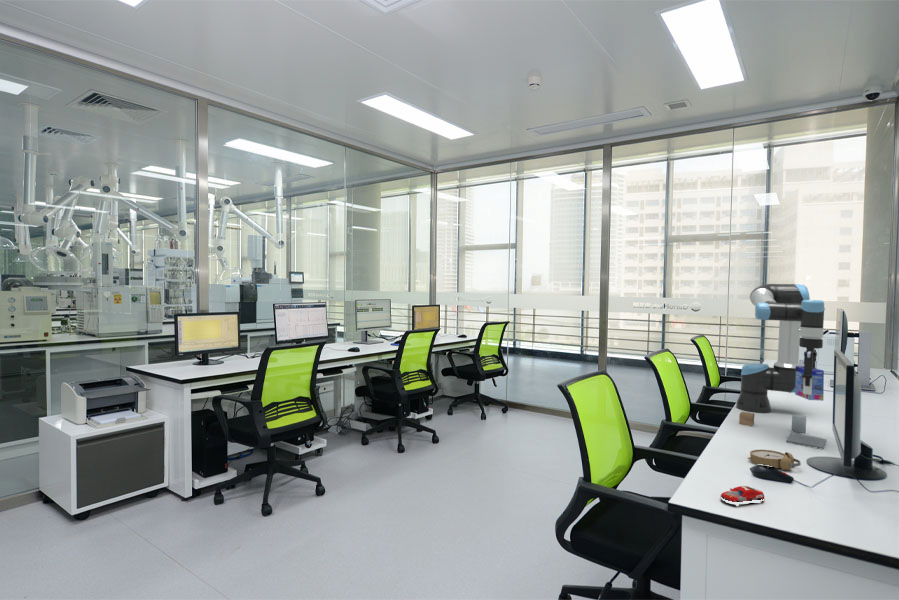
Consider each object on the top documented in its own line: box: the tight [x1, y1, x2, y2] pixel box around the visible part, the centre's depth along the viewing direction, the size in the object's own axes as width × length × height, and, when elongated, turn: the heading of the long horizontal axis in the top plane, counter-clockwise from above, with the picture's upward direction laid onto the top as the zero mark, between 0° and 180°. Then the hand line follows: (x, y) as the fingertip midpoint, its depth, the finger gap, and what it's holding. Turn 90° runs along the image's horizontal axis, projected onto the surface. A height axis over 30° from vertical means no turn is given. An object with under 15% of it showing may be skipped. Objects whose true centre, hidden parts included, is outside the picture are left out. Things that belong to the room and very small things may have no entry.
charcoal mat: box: [785, 432, 827, 450], centre depth 195 cm, size 14×12×1 cm
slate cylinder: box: [791, 414, 807, 434], centre depth 208 cm, size 5×5×7 cm
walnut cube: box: [738, 411, 755, 427], centre depth 218 cm, size 5×5×5 cm
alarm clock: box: [747, 449, 802, 472], centre depth 169 cm, size 11×5×15 cm
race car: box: [720, 485, 765, 502], centre depth 140 cm, size 13×5×4 cm, turn 105°
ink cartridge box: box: [794, 361, 825, 401], centre depth 194 cm, size 10×6×14 cm, turn 174°
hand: (808, 391), depth 194 cm, fingers closed on ink cartridge box, 10 cm apart
